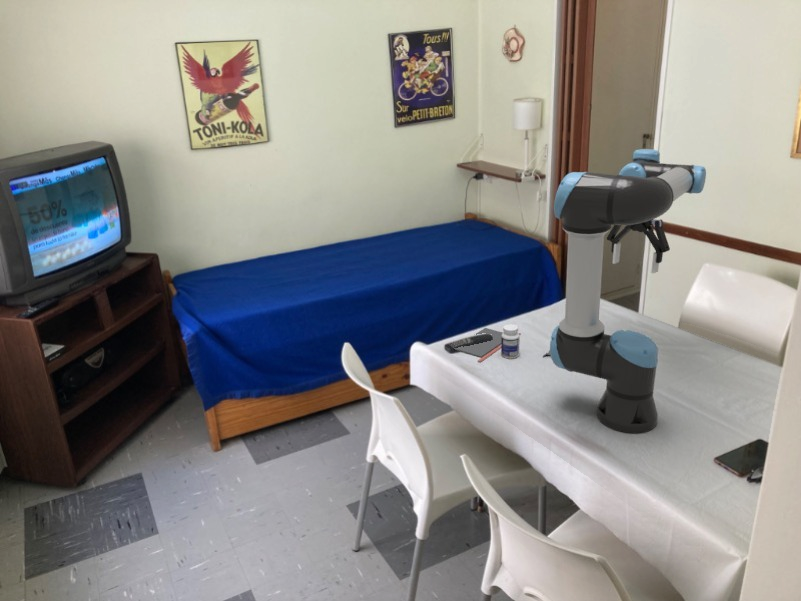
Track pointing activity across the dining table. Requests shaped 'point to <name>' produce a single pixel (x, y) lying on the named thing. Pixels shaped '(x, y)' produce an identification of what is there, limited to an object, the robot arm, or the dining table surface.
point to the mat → (483, 344)
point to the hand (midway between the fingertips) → (634, 267)
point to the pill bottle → (510, 341)
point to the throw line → (491, 352)
